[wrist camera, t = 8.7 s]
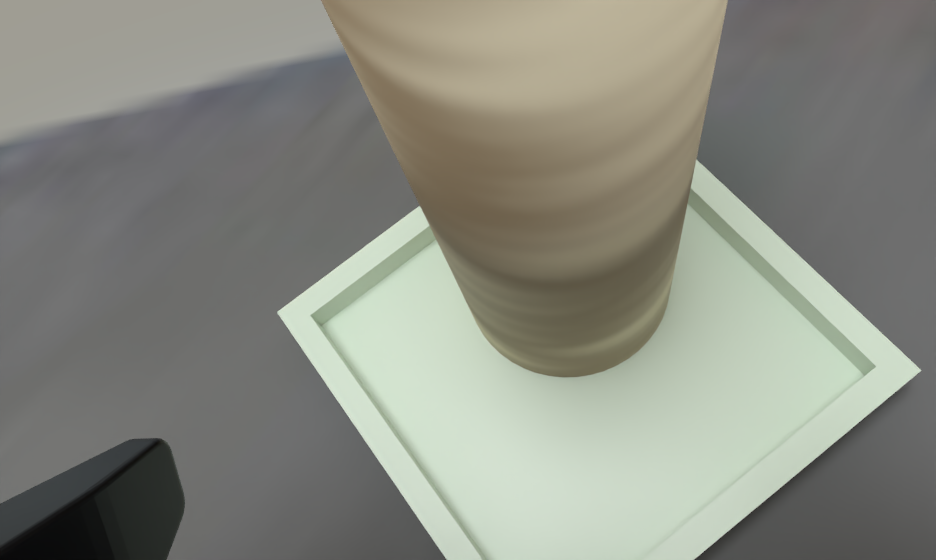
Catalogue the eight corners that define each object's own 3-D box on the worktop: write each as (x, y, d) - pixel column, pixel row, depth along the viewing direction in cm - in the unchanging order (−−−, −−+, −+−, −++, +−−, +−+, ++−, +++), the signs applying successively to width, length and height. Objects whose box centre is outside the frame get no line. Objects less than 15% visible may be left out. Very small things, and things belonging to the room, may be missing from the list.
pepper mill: (702, 230, 19) (987, -898, 5) (619, 412, 18) (664, -362, 4) (520, 163, 21) (313, -859, 6) (433, 327, 19) (-81, -471, 5)
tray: (901, 385, 18) (921, 370, 17) (542, 684, 17) (536, 690, 16) (601, 97, 21) (601, 70, 20) (295, 327, 21) (277, 312, 19)
